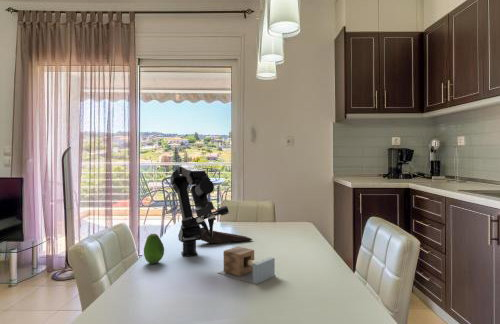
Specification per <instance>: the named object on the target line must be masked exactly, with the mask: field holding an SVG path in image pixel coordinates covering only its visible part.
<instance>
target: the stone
mask: <svg viewBox="0 0 500 324" xmlns="http://www.w3.org/2000/svg"><path fill="white" fill-rule="evenodd" d="M201 230H202V231H201V238H200V240H199V241H202V242H206V243H208V242H209V244H214V243H215V244H217V245H218V244H220V245H221V244H227V243H232V242H249V241H253V239H252V238H251V237H248V236H245V235H239V234H236V233H235V234H234V233H230V232H229V233H228V232H222V231H217V230H213V238H210V236H209V235H208V233H207V232H206V230H205V229H204V228H203V226H201ZM209 231H210V229H209Z"/></svg>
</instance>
